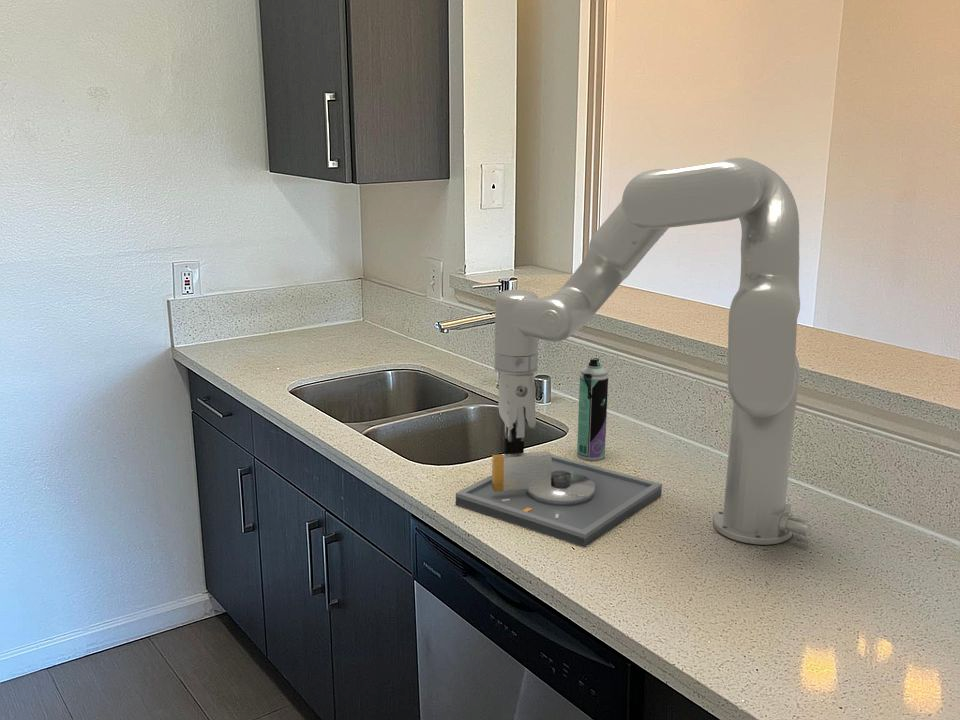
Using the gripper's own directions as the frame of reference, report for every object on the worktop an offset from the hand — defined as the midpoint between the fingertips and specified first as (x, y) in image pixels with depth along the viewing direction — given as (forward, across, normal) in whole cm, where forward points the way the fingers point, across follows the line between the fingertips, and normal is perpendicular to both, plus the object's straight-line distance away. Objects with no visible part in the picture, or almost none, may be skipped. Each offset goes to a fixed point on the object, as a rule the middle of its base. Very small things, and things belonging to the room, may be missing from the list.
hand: (513, 460), depth 164 cm
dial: (+4, -6, -4) cm, 8 cm away
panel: (+6, -6, -7) cm, 11 cm away
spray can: (+6, +14, -19) cm, 24 cm away
